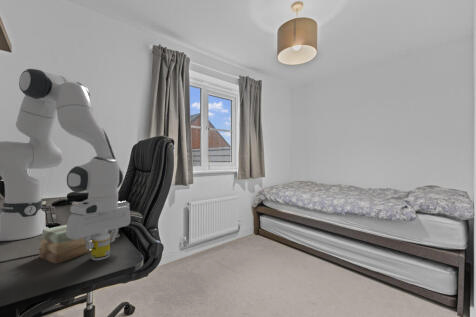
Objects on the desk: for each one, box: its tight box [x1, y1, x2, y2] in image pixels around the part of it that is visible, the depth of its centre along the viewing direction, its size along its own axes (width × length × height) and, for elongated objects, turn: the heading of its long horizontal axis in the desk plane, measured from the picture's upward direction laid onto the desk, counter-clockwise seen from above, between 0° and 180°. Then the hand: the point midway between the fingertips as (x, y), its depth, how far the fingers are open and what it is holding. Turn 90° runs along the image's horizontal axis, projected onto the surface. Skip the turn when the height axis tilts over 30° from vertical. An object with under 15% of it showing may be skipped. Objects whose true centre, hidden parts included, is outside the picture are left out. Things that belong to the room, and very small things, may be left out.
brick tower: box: [38, 224, 90, 264], centre depth 75 cm, size 10×10×9 cm
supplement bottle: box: [90, 229, 111, 261], centre depth 74 cm, size 5×5×10 cm
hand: (101, 244), depth 74 cm, fingers open, 6 cm apart
